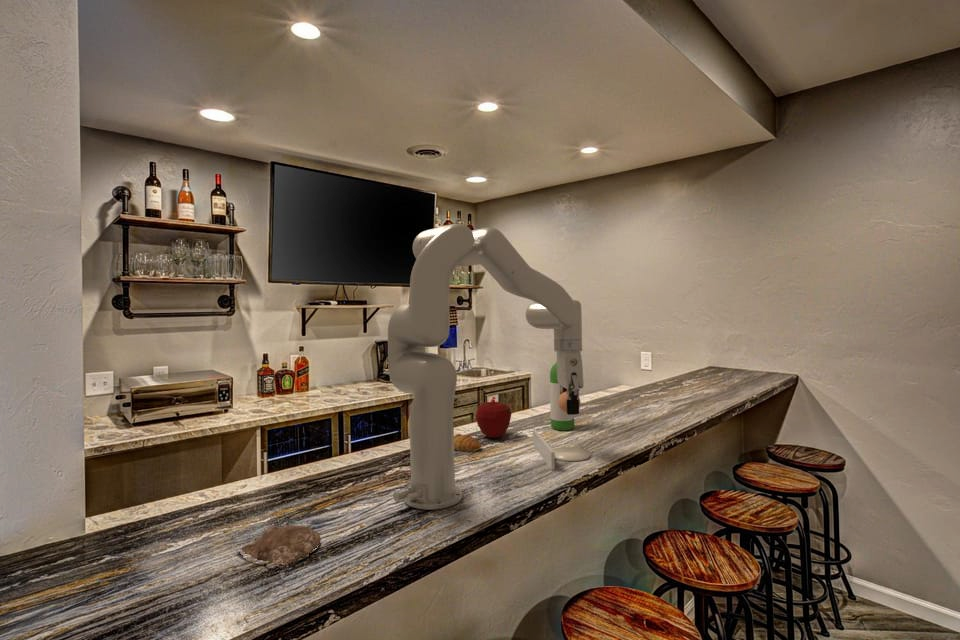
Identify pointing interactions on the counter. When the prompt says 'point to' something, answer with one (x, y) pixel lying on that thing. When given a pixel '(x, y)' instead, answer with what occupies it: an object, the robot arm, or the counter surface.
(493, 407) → the apple
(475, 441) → the pastry
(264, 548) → the shell
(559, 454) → the saucer
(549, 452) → the wall
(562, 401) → the ball
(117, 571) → the counter surface
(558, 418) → the wine bottle
